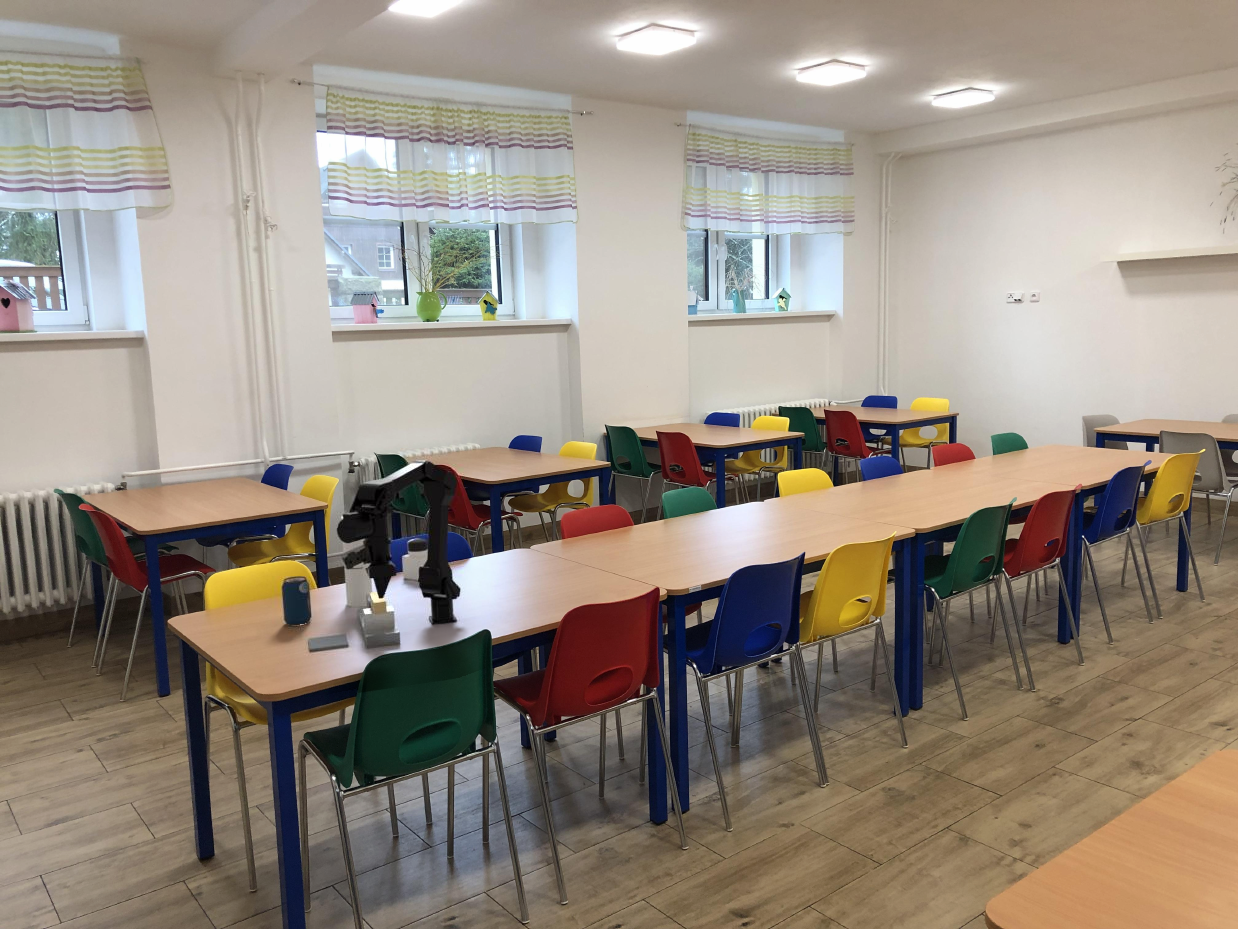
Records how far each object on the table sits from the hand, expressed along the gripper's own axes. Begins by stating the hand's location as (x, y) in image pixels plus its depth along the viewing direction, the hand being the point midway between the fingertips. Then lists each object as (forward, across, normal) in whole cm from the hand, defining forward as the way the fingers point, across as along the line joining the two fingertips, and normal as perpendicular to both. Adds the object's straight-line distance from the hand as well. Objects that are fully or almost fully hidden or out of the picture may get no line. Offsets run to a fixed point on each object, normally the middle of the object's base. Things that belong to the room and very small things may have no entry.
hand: (381, 598), depth 230 cm
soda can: (+12, -30, -19) cm, 38 cm away
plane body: (+12, -13, 0) cm, 18 cm away
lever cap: (+9, -8, 0) cm, 12 cm away
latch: (+5, -8, 0) cm, 9 cm away
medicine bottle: (+12, -66, +18) cm, 69 cm away
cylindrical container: (+12, -43, -2) cm, 45 cm away
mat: (+12, -8, -13) cm, 19 cm away
